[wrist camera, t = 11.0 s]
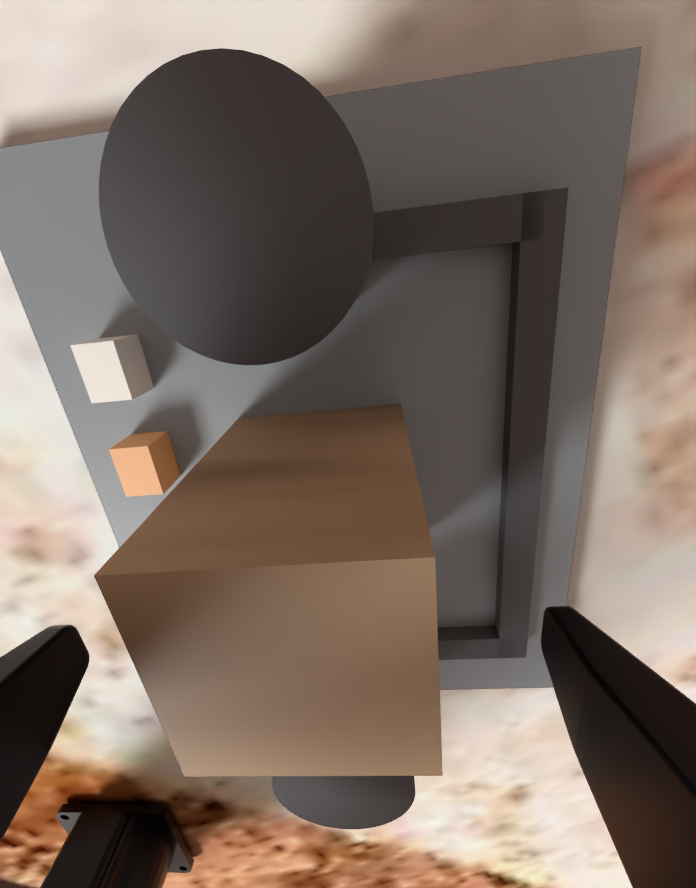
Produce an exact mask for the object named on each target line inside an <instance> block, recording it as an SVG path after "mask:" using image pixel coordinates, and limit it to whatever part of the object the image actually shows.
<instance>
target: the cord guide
mask: <svg viewBox="0 0 696 888" xmlns="http://www.w3.org/2000/svg"><path fill="white" fill-rule="evenodd" d="M568 189H569V187H566V188H559V189H551V190H543V191H536V192H528V193H520V194H513V195H505V196H497V197H490V198H482V199H474V200H467V201H459V202H451V203H444V204H436V205H428V206H421V207H413V208H405V209H398V210H390V211H382V212H375V213H373V206H372V198H371V191H370V186H369V182H368V178H367V174H366V170H365V167H364V164H363V161H362V159H361V156H360V153H359V151H358V148H357V146H356V144H355V142H354V140H353V138H352V136H351V134H350V132H349V130H348V128H347V127H346V125H345V124H344V122H343V121H342V119H341V118H340V116H339V115H338V113H337V112H336V111H335V109H334V108H333V107H332V105H331V104H330V103H329V102H328V101H327V100H326V99H325V98H324V96H323V95H322V94H321V93H320V92H319V91H318V90H317V89H316V88H315V87H313V86H312V85H311V84H310V83H309V82H308V81H306V80H305V79H304V78H303V77H302V76H300V75H299V74H297V73H295V72H294V71H292V70H291V69H289V68H288V67H286V66H284V65H283V64H281V63H278V62H276V61H274V60H272V59H269V58H267V57H265V56H262V55H258V54H254V53H251V52H247V51H243V50H233V49H211V50H201V51H197V52H193V53H190V54H186V55H182V56H180V57H178V58H176V59H174V60H172V61H169V62H167V63H165V64H163V65H162V66H161V67H159V68H158V69H156V70H155V71H153V72H152V73H151V74H149V75H148V76H147V77H146V78H145V79H144V80H143V81H142V82H141V83H140V84H139V85H138V86H137V87H136V88H135V89H134V90H133V91H132V92H131V94H130V95H129V96H128V98H127V99H126V100H125V102H124V103H123V105H122V106H121V108H120V110H119V112H118V114H117V115H116V117H115V119H114V121H113V123H112V125H111V128H110V131H109V134H108V136H107V139H106V142H105V146H104V150H103V155H102V159H101V164H100V175H99V208H100V215H101V223H102V228H103V232H104V236H105V240H106V244H107V247H108V250H109V253H110V255H111V258H112V261H113V264H114V266H115V268H116V270H117V272H118V274H119V276H120V278H121V280H122V282H123V284H124V285H125V287H126V289H127V290H128V292H129V293H130V295H131V297H132V298H133V299H134V301H135V302H136V303H137V305H138V306H139V307H140V308H141V310H142V311H143V312H144V313H145V315H146V316H147V317H148V318H149V319H150V320H151V321H152V322H153V323H154V324H155V325H156V326H157V327H158V328H160V329H161V330H162V331H163V332H164V333H166V334H167V335H168V336H169V337H170V338H172V339H173V340H175V341H176V342H178V343H179V344H181V345H182V346H184V347H186V348H188V349H190V350H192V351H194V352H196V353H198V354H200V355H202V356H205V357H208V358H210V359H213V360H216V361H221V362H225V363H229V364H238V365H264V364H270V363H276V362H280V361H283V360H286V359H289V358H292V357H295V356H297V355H299V354H301V353H303V352H305V351H307V350H309V349H310V348H312V347H313V346H315V345H316V344H318V343H319V342H320V341H322V340H323V339H324V338H325V337H326V336H327V335H329V334H330V333H331V332H332V331H333V330H334V329H335V328H336V326H337V325H338V324H339V323H340V322H341V321H342V320H343V318H344V317H345V315H346V314H347V312H348V311H349V309H350V308H351V306H352V305H353V303H354V302H355V300H356V298H357V296H358V295H359V293H360V291H361V289H362V287H363V285H364V283H365V281H366V279H367V276H368V273H369V269H370V265H371V260H377V259H386V258H394V257H403V256H411V255H419V254H428V253H436V252H444V251H453V250H461V249H469V248H478V247H486V246H495V245H503V244H511V243H512V263H511V285H510V306H509V328H508V350H507V371H506V393H505V415H504V436H503V458H502V480H501V501H500V523H499V544H498V566H497V588H496V609H495V626H467V627H439V628H438V657H439V660H459V659H495V658H526V653H527V642H528V631H529V620H530V609H531V598H532V587H533V575H534V564H535V553H536V542H537V531H538V520H539V509H540V498H541V487H542V476H543V465H544V454H545V443H546V432H547V421H548V410H549V399H550V388H551V377H552V366H553V355H554V344H555V333H556V322H557V310H558V299H559V288H560V277H561V266H562V255H563V244H564V233H565V222H566V211H567V200H568ZM272 785H273V790H274V793H275V795H276V797H277V798H278V800H279V801H280V802H281V803H282V805H283V806H284V807H286V808H287V809H288V810H289V811H291V812H292V813H294V814H295V815H297V816H299V817H300V818H303V819H305V820H307V821H309V822H312V823H315V824H319V825H322V826H327V827H332V828H339V829H364V828H371V827H376V826H380V825H384V824H386V823H389V822H391V821H393V820H395V819H397V818H399V817H400V816H402V815H403V814H404V813H405V812H406V811H407V810H408V809H409V808H410V806H411V805H412V803H413V801H414V797H415V783H414V776H273V781H272Z"/></svg>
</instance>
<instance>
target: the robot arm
mask: <svg viewBox="0 0 696 888" xmlns="http://www.w3.org/2000/svg"><path fill="white" fill-rule="evenodd" d="M541 648H542V653H543V656H544V659H545V662H546V665H547V668H548V671H549V675H550V678H551V681H552V684H553V687H554V690H555V693H556V696H557V699H558V703H559V706H560V709H561V712H562V715H563V718H564V721H565V724H566V727H567V730H568V734H569V736H570V739H571V742H572V745H573V748H574V751H575V753H576V756H577V758H578V761H579V763H580V766H581V768H582V770H583V773H584V775H585V777H586V780H587V782H588V784H589V787H590V789H591V791H592V794H593V796H594V798H595V801H596V803H597V805H598V808H599V810H600V812H601V815H602V817H603V819H604V822H605V824H606V826H607V829H608V831H609V833H610V836H611V838H612V840H613V843H614V845H615V847H616V850H617V852H618V854H619V857H620V859H621V861H622V864H623V866H624V868H625V871H626V873H627V875H628V878H629V880H630V882H631V885H632V887H633V888H696V703H694V702H693V701H692V700H690V699H689V698H688V697H687V696H685V695H684V694H683V693H681V692H680V691H679V690H678V689H676V688H675V687H674V686H672V685H671V684H670V683H669V682H667V681H666V680H665V679H663V678H662V677H661V676H660V675H658V674H657V673H656V672H655V671H653V670H652V669H651V668H649V667H648V666H647V665H646V664H644V663H643V662H642V661H640V660H639V659H638V658H637V657H635V656H634V655H633V654H631V653H630V652H629V651H628V650H626V649H625V648H624V647H622V646H621V645H620V644H619V643H617V642H616V641H615V640H613V639H612V638H611V637H610V636H608V635H607V634H606V633H604V632H603V631H602V630H601V629H599V628H598V627H597V626H595V625H594V624H593V623H592V622H590V621H589V620H588V619H586V618H585V617H584V616H583V615H581V614H580V613H579V612H577V611H576V610H575V609H573V608H572V607H569V606H550V607H547V608H546V609H545V610H544V615H543V624H542V633H541ZM88 663H89V653H88V650H87V648H86V646H85V644H84V642H83V640H82V638H81V636H80V634H79V632H78V630H77V629H76V628H75V627H74V626H72V625H55V626H51V627H48V628H46V629H45V630H43V631H41V632H40V633H38V634H37V635H35V636H34V637H32V638H30V639H29V640H27V641H26V642H24V643H22V644H21V645H19V646H18V647H16V648H15V649H13V650H11V651H10V652H8V653H7V654H5V655H3V656H2V657H0V842H1V840H2V838H3V836H4V834H5V833H6V831H7V829H8V827H9V825H10V823H11V822H12V820H13V818H14V816H15V814H16V812H17V811H18V809H19V807H20V805H21V803H22V801H23V800H24V798H25V796H26V794H27V792H28V790H29V789H30V787H31V785H32V783H33V781H34V779H35V778H36V776H37V774H38V772H39V770H40V768H41V766H42V765H43V763H44V761H45V759H46V757H47V755H48V753H49V751H50V749H51V747H52V745H53V743H54V740H55V738H56V736H57V734H58V732H59V729H60V727H61V725H62V723H63V721H64V718H65V716H66V714H67V712H68V709H69V707H70V705H71V703H72V701H73V698H74V696H75V694H76V692H77V689H78V687H79V685H80V683H81V680H82V678H83V676H84V674H85V672H86V669H87V667H88ZM56 817H57V819H58V820H59V821H60V823H61V824H62V826H63V827H64V829H65V830H66V832H67V833H68V834H69V835H68V837H67V839H66V841H65V842H64V844H63V846H62V848H61V850H60V852H59V854H58V855H57V857H56V859H55V861H54V863H53V865H52V867H51V868H50V870H49V872H48V874H47V876H46V878H45V880H44V881H43V883H42V885H41V887H40V888H162V887H163V884H164V881H165V878H166V875H167V873H168V872H177V873H187V872H190V871H191V869H192V866H193V863H194V859H193V857H192V855H191V853H190V851H189V849H188V847H187V845H186V843H185V841H184V839H183V837H182V835H181V833H180V831H179V829H178V827H177V825H176V823H175V821H174V819H173V817H172V815H171V813H170V811H169V809H168V808H167V807H166V806H164V805H160V804H63V805H61V807H60V809H59V811H58V812H57V814H56Z"/></svg>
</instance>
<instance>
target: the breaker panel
mask: <svg viewBox="0 0 696 888" xmlns="http://www.w3.org/2000/svg"><path fill="white" fill-rule="evenodd" d="M641 48H642V47H636V48H630V49H624V50H617V51H611V52H605V53H598V54H592V55H586V56H579V57H573V58H567V59H561V60H554V61H548V62H542V63H535V64H529V65H523V66H516V67H510V68H504V69H497V70H491V71H485V72H478V73H472V74H466V75H460V76H453V77H447V78H441V79H434V80H428V81H422V82H415V83H409V84H403V85H396V86H390V87H384V88H378V89H371V90H365V91H359V92H352V93H346V94H340V95H333V96H327V97H324V98H325V99H326V100H327V101H328V102H329V103H330V104H331V105H332V107H333V108H334V109H335V111H336V112H337V113H338V115H339V116H340V118H341V119H342V121H343V122H344V124H345V125H346V127H347V128H348V130H349V132H350V134H351V136H352V138H353V140H354V142H355V144H356V146H357V148H358V151H359V153H360V156H361V159H362V161H363V164H364V167H365V170H366V174H367V178H368V182H369V186H370V191H371V198H372V206H373V213H375V212H382V211H390V210H398V209H405V208H413V207H421V206H428V205H436V204H444V203H451V202H459V201H467V200H474V199H482V198H490V197H497V196H505V195H513V194H520V193H528V192H536V191H543V190H551V189H559V188H566V187H569V189H568V200H567V211H566V222H565V233H564V244H563V255H562V266H561V277H560V288H559V299H558V310H557V322H556V333H555V344H554V355H553V366H552V377H551V388H550V399H549V410H548V421H547V432H546V443H545V454H544V465H543V476H542V487H541V498H540V509H539V520H538V531H537V542H536V553H535V564H534V575H533V587H532V598H531V609H530V620H529V631H528V642H527V653H526V658H495V659H459V660H439V687H440V690H454V689H501V688H548V687H553V684H552V681H551V678H550V675H549V671H548V668H547V665H546V662H545V659H544V656H543V653H542V648H541V633H542V624H543V615H544V610H545V609H546V608H547V607H550V606H566V603H567V595H568V588H569V581H570V573H571V566H572V558H573V551H574V544H575V536H576V529H577V521H578V514H579V507H580V499H581V492H582V485H583V477H584V470H585V462H586V455H587V448H588V440H589V433H590V425H591V418H592V411H593V403H594V396H595V388H596V381H597V374H598V366H599V359H600V351H601V344H602V337H603V329H604V322H605V314H606V307H607V300H608V292H609V285H610V277H611V270H612V263H613V255H614V248H615V240H616V233H617V226H618V218H619V211H620V204H621V196H622V189H623V181H624V174H625V167H626V159H627V152H628V144H629V137H630V130H631V122H632V115H633V107H634V100H635V93H636V85H637V78H638V70H639V63H640V56H641ZM108 134H109V131H106V132H100V133H93V134H87V135H81V136H75V137H68V138H62V139H56V140H49V141H43V142H37V143H30V144H24V145H18V146H11V147H5V148H0V250H1V253H2V255H3V258H4V260H5V263H6V265H7V268H8V270H9V273H10V275H11V278H12V280H13V283H14V285H15V288H16V290H17V293H18V295H19V298H20V300H21V303H22V305H23V308H24V310H25V313H26V315H27V318H28V320H29V323H30V325H31V328H32V330H33V333H34V335H35V338H36V340H37V343H38V345H39V348H40V350H41V353H42V355H43V358H44V360H45V363H46V365H47V368H48V370H49V373H50V375H51V378H52V380H53V383H54V385H55V388H56V390H57V393H58V395H59V398H60V400H61V403H62V405H63V408H64V410H65V413H66V415H67V418H68V420H69V423H70V425H71V428H72V430H73V433H74V435H75V438H76V440H77V443H78V445H79V448H80V450H81V453H82V455H83V458H84V460H85V463H86V465H87V468H88V470H89V473H90V475H91V478H92V480H93V483H94V485H95V488H96V490H97V493H98V495H99V498H100V500H101V503H102V505H103V508H104V510H105V513H106V515H107V518H108V520H109V523H110V525H111V528H112V530H113V533H114V535H115V538H116V540H117V543H118V545H119V548H120V547H121V546H122V545H123V544H124V542H125V541H126V540H127V539H128V538H129V537H130V536H131V535H132V534H133V533H134V532H135V530H136V529H137V528H138V527H139V526H140V525H141V524H142V523H143V522H144V521H145V520H146V518H147V517H148V516H149V515H150V514H151V513H152V512H153V511H154V510H155V509H156V508H157V506H158V505H159V504H160V503H161V502H162V501H163V500H164V499H165V498H166V497H167V496H168V494H169V493H170V492H171V491H172V490H173V489H174V488H175V487H176V486H177V485H178V484H179V482H180V481H181V480H182V479H183V478H184V477H185V476H186V475H187V474H188V473H189V472H190V470H191V469H192V468H193V467H194V466H195V465H196V464H197V463H198V462H199V461H200V460H201V458H202V457H203V456H204V455H205V454H206V453H207V452H208V451H209V450H210V449H211V448H212V446H213V445H214V444H215V443H216V442H217V441H218V440H219V439H220V438H221V437H222V436H223V434H224V433H225V432H226V431H227V430H228V429H229V428H230V427H231V426H232V425H233V424H234V422H235V421H236V420H237V419H238V418H248V417H259V416H271V415H282V414H293V413H304V412H315V411H326V410H337V409H349V408H360V407H371V406H382V405H393V404H401V407H402V412H403V416H404V420H405V425H406V429H407V434H408V438H409V443H410V447H411V452H412V456H413V461H414V465H415V469H416V474H417V478H418V483H419V487H420V492H421V496H422V501H423V505H424V509H425V514H426V518H427V523H428V527H429V532H430V536H431V541H432V545H433V550H434V554H435V566H436V596H437V626H438V628H439V627H467V626H495V609H496V588H497V566H498V544H499V523H500V501H501V480H502V458H503V436H504V415H505V393H506V371H507V350H508V328H509V306H510V285H511V263H512V243H511V244H503V245H495V246H486V247H478V248H469V249H461V250H453V251H444V252H436V253H428V254H419V255H411V256H403V257H394V258H386V259H377V260H371V265H370V269H369V273H368V276H367V279H366V281H365V283H364V285H363V287H362V289H361V291H360V293H359V295H358V296H357V298H356V300H355V302H354V303H353V305H352V306H351V308H350V309H349V311H348V312H347V314H346V315H345V317H344V318H343V320H342V321H341V322H340V323H339V324H338V325H337V326H336V328H335V329H334V330H333V331H332V332H331V333H330V334H329V335H327V336H326V337H325V338H324V339H323V340H322V341H320V342H319V343H318V344H316V345H315V346H313V347H312V348H310V349H309V350H307V351H305V352H303V353H301V354H299V355H297V356H295V357H292V358H289V359H286V360H283V361H280V362H276V363H270V364H264V365H238V364H229V363H225V362H221V361H216V360H213V359H210V358H208V357H205V356H202V355H200V354H198V353H196V352H194V351H192V350H190V349H188V348H186V347H184V346H182V345H181V344H179V343H178V342H176V341H175V340H173V339H172V338H170V337H169V336H168V335H167V334H166V333H164V332H163V331H162V330H161V329H160V328H158V327H157V326H156V325H155V324H154V323H153V322H152V321H151V320H150V319H149V318H148V317H147V316H146V315H145V313H144V312H143V311H142V310H141V308H140V307H139V306H138V305H137V303H136V302H135V301H134V299H133V298H132V297H131V295H130V293H129V292H128V290H127V289H126V287H125V285H124V284H123V282H122V280H121V278H120V276H119V274H118V272H117V270H116V268H115V266H114V264H113V261H112V258H111V255H110V253H109V250H108V247H107V244H106V240H105V236H104V232H103V228H102V223H101V215H100V208H99V175H100V164H101V159H102V155H103V150H104V146H105V142H106V139H107V136H108Z"/></svg>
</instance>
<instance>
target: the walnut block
mask: <svg viewBox="0 0 696 888" xmlns="http://www.w3.org/2000/svg"><path fill="white" fill-rule="evenodd" d="M94 576H95V579H96V581H97V583H98V585H99V588H100V590H101V592H102V594H103V596H104V599H105V601H106V603H107V605H108V608H109V610H110V612H111V614H112V616H113V619H114V621H115V623H116V625H117V628H118V630H119V632H120V634H121V637H122V639H123V641H124V643H125V645H126V648H127V650H128V652H129V654H130V657H131V659H132V661H133V663H134V665H135V668H136V670H137V672H138V674H139V677H140V679H141V681H142V683H143V686H144V688H145V690H146V692H147V694H148V697H149V699H150V701H151V703H152V706H153V708H154V710H155V712H156V715H157V717H158V719H159V721H160V723H161V726H162V728H163V730H164V732H165V735H166V737H167V739H168V741H169V743H170V746H171V748H172V750H173V752H174V755H175V757H176V759H177V761H178V764H179V766H180V768H181V770H182V772H183V775H184V777H206V776H442V747H441V717H440V687H439V657H438V626H437V596H436V566H435V554H434V550H433V545H432V541H431V536H430V532H429V527H428V523H427V518H426V514H425V509H424V505H423V501H422V496H421V492H420V487H419V483H418V478H417V474H416V469H415V465H414V461H413V456H412V452H411V447H410V443H409V438H408V434H407V429H406V425H405V420H404V416H403V412H402V407H401V404H393V405H382V406H371V407H360V408H349V409H337V410H326V411H315V412H304V413H293V414H282V415H271V416H259V417H248V418H238V419H237V420H236V421H235V422H234V424H233V425H232V426H231V427H230V428H229V429H228V430H227V431H226V432H225V433H224V434H223V436H222V437H221V438H220V439H219V440H218V441H217V442H216V443H215V444H214V445H213V446H212V448H211V449H210V450H209V451H208V452H207V453H206V454H205V455H204V456H203V457H202V458H201V460H200V461H199V462H198V463H197V464H196V465H195V466H194V467H193V468H192V469H191V470H190V472H189V473H188V474H187V475H186V476H185V477H184V478H183V479H182V480H181V481H180V482H179V484H178V485H177V486H176V487H175V488H174V489H173V490H172V491H171V492H170V493H169V494H168V496H167V497H166V498H165V499H164V500H163V501H162V502H161V503H160V504H159V505H158V506H157V508H156V509H155V510H154V511H153V512H152V513H151V514H150V515H149V516H148V517H147V518H146V520H145V521H144V522H143V523H142V524H141V525H140V526H139V527H138V528H137V529H136V530H135V532H134V533H133V534H132V535H131V536H130V537H129V538H128V539H127V540H126V541H125V542H124V544H123V545H122V546H121V547H120V548H119V549H118V550H117V551H116V552H115V553H114V554H113V556H112V557H111V558H110V559H109V560H108V561H107V562H106V563H105V564H104V565H103V567H102V568H101V569H100V570H99V571H98V572H97V573H96V574H95V575H94Z"/></svg>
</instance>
